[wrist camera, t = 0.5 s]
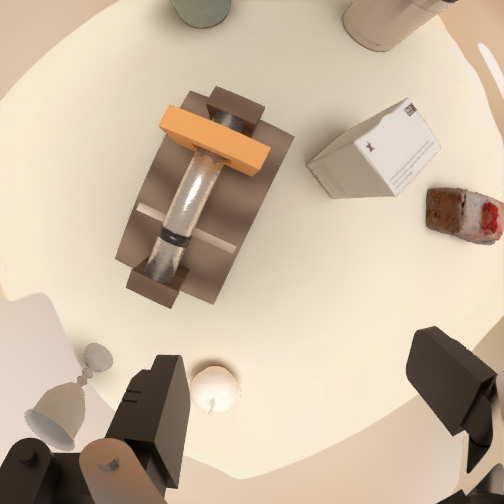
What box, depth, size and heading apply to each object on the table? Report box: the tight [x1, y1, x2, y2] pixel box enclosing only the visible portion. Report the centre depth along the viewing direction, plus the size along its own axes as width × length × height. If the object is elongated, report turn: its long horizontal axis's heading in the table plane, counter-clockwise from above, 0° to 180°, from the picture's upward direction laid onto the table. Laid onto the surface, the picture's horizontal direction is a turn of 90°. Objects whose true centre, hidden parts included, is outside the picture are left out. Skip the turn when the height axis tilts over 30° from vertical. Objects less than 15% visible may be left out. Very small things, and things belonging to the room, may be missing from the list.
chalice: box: [25, 343, 113, 451], centre depth 28 cm, size 7×7×18 cm
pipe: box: [144, 110, 245, 284], centre depth 26 cm, size 21×3×3 cm, turn 154°
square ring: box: [159, 105, 271, 177], centre depth 25 cm, size 2×9×9 cm, turn 64°
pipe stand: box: [115, 86, 294, 309], centre depth 29 cm, size 23×14×10 cm, turn 154°
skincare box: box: [306, 98, 441, 199], centre depth 26 cm, size 8×6×15 cm
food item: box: [426, 188, 504, 245], centre depth 32 cm, size 14×8×10 cm, turn 88°
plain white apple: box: [190, 366, 241, 415], centre depth 35 cm, size 7×7×8 cm
